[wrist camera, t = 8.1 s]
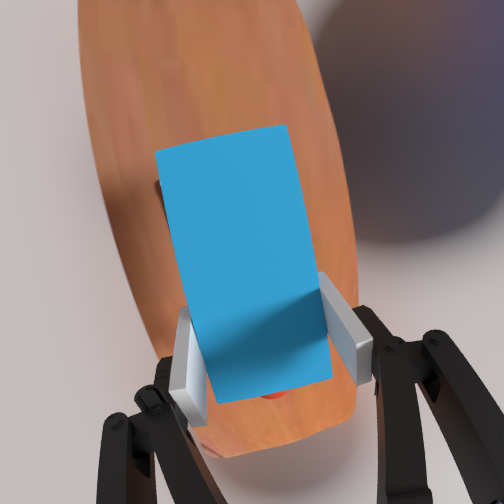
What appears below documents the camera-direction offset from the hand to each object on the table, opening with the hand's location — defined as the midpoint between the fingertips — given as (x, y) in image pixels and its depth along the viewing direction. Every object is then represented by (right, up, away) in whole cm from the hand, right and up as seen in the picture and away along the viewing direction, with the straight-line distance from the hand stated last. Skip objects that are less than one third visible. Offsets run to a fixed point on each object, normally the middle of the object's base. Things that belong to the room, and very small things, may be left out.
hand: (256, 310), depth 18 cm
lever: (-1, +2, +3) cm, 3 cm away
